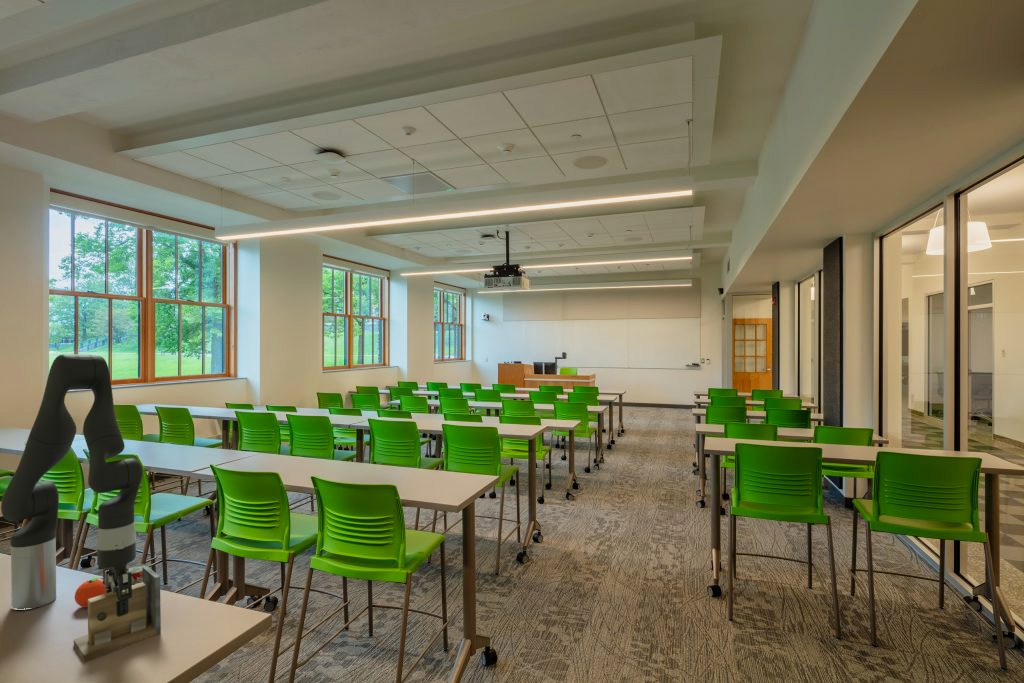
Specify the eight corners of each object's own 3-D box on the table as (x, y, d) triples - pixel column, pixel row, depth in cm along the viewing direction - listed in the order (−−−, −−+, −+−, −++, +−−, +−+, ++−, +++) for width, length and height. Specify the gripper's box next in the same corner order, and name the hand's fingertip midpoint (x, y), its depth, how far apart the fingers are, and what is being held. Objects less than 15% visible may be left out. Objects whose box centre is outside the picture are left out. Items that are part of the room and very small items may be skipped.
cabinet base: (73, 645, 124) (72, 587, 124) (147, 619, 136) (146, 565, 136) (84, 661, 118) (83, 600, 118) (160, 632, 130) (160, 576, 129)
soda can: (158, 607, 142) (158, 563, 142) (137, 621, 135) (136, 574, 135) (134, 606, 143) (134, 562, 143) (112, 619, 136) (111, 574, 136)
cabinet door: (88, 641, 123) (87, 599, 123) (143, 621, 132) (142, 582, 132) (92, 646, 121) (91, 603, 121) (147, 626, 130) (147, 586, 130)
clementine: (92, 597, 148) (92, 572, 148) (116, 597, 148) (116, 572, 148) (67, 612, 140) (67, 585, 140) (92, 612, 140) (92, 585, 140)
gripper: (89, 540, 128) (90, 606, 128) (105, 555, 119) (106, 626, 119) (126, 531, 134) (127, 594, 134) (144, 545, 125) (145, 612, 125)
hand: (117, 609), depth 127 cm, fingers open, 8 cm apart
